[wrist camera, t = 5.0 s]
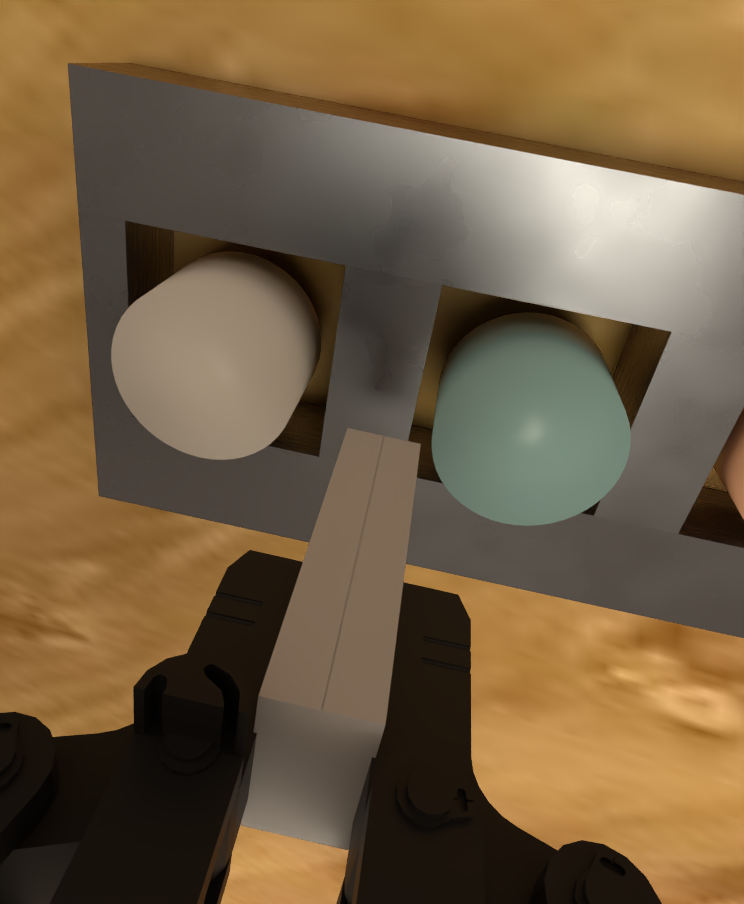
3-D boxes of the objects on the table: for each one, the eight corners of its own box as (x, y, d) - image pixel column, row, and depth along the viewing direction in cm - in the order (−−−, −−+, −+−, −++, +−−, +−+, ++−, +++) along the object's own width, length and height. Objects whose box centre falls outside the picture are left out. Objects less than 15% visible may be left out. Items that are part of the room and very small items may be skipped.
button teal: (423, 446, 20) (414, 504, 17) (459, 296, 17) (454, 337, 15) (577, 478, 19) (592, 542, 17) (635, 332, 17) (662, 380, 14)
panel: (140, 448, 24) (98, 496, 21) (129, 62, 17) (67, 63, 15) (816, 595, 23) (858, 663, 20) (1063, 244, 16) (1171, 277, 14)
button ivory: (162, 390, 20) (115, 439, 17) (161, 236, 17) (106, 266, 15) (311, 422, 20) (286, 475, 17) (331, 270, 17) (305, 306, 15)
